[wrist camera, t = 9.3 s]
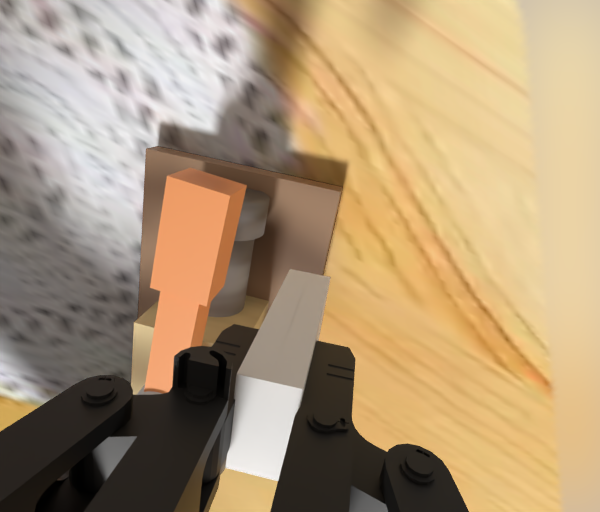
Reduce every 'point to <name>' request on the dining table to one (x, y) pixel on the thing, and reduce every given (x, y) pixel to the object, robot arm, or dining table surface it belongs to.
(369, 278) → the dining table surface
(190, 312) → the valve lever
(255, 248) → the valve stand
